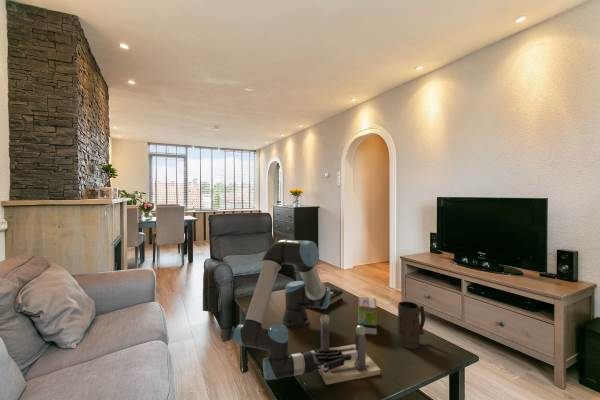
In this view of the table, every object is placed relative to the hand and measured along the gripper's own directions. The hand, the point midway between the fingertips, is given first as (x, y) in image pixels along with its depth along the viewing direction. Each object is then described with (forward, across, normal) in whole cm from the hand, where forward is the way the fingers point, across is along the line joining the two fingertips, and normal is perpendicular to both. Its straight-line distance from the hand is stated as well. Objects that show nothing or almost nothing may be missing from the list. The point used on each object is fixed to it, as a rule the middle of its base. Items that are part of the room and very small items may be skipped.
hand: (356, 354), depth 118 cm
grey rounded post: (+2, 0, -6) cm, 6 cm away
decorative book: (+12, -77, -9) cm, 79 cm away
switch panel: (-3, -7, -8) cm, 11 cm away
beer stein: (+38, -15, -8) cm, 42 cm away
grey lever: (-9, -14, -6) cm, 18 cm away
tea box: (+24, -35, -8) cm, 43 cm away
